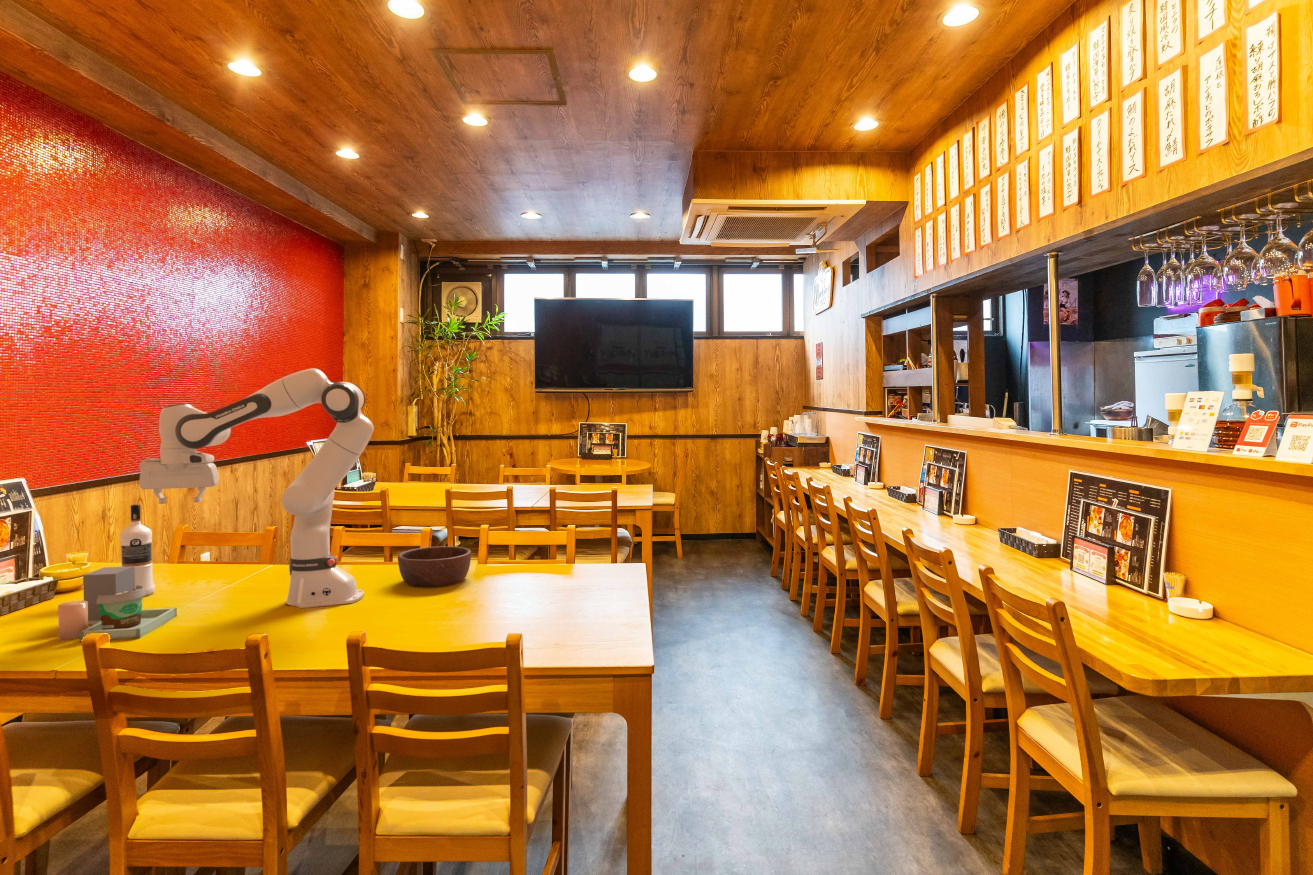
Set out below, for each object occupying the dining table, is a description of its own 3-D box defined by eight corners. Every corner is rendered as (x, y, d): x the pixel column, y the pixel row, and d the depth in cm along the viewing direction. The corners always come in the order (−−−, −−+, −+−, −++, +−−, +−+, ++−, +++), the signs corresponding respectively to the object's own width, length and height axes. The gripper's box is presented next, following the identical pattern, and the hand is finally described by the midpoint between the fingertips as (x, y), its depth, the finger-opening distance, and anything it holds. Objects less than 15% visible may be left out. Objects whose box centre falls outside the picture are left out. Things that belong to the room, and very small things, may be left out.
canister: (93, 632, 184) (92, 599, 184) (79, 639, 178) (78, 605, 178) (68, 633, 183) (67, 601, 183) (53, 641, 177) (52, 607, 177)
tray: (176, 616, 199) (176, 607, 199) (140, 637, 180) (139, 628, 180) (122, 619, 196) (122, 610, 196) (79, 641, 177) (79, 632, 177)
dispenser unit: (141, 611, 204) (140, 565, 204) (118, 622, 193) (117, 574, 192) (103, 613, 202) (102, 566, 202) (78, 625, 190) (76, 576, 190)
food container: (116, 633, 181) (115, 597, 181) (97, 632, 182) (95, 596, 182) (157, 620, 193) (156, 585, 193) (139, 619, 194) (138, 584, 194)
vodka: (158, 590, 229) (155, 502, 228) (151, 596, 220) (149, 505, 219) (124, 593, 225) (121, 503, 224) (116, 600, 216) (113, 507, 215)
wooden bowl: (408, 573, 252) (407, 546, 252) (476, 572, 255) (476, 545, 255) (389, 591, 227) (388, 561, 227) (465, 589, 230) (464, 559, 230)
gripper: (133, 459, 199) (135, 505, 200) (211, 457, 204) (213, 502, 204) (144, 458, 205) (146, 503, 206) (219, 455, 210) (221, 500, 211)
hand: (180, 502), depth 205 cm, fingers open, 8 cm apart
